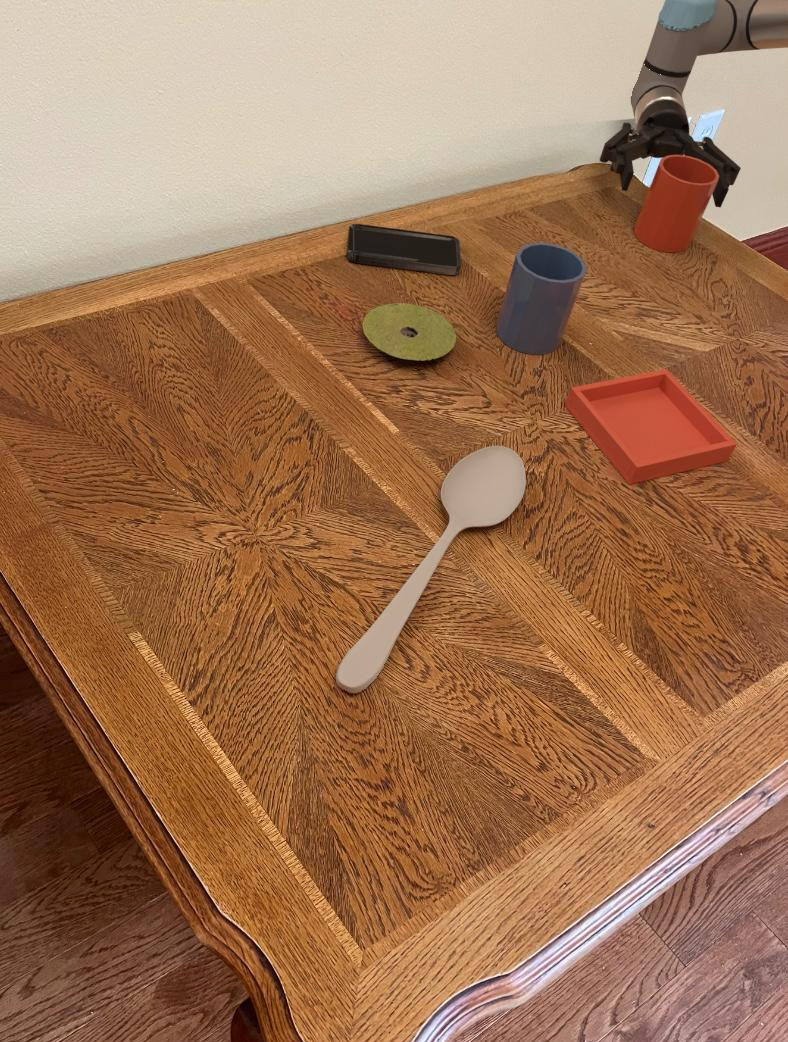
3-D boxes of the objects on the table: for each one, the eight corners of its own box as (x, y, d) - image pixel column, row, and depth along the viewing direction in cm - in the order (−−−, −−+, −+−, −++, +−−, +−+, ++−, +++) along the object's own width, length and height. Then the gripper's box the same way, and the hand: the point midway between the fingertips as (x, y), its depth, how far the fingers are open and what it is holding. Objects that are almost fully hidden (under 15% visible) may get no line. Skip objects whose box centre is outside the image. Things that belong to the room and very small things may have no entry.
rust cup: (700, 249, 135) (731, 181, 127) (654, 255, 132) (682, 187, 125) (667, 219, 140) (695, 152, 132) (622, 225, 137) (648, 157, 129)
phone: (349, 222, 126) (459, 236, 127) (348, 230, 127) (457, 244, 128) (347, 254, 121) (461, 269, 122) (346, 262, 122) (459, 276, 123)
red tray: (727, 461, 106) (737, 444, 104) (628, 485, 101) (637, 467, 99) (658, 386, 113) (666, 368, 111) (564, 405, 109) (570, 387, 107)
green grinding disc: (358, 312, 116) (360, 298, 114) (447, 319, 117) (450, 305, 115) (363, 369, 109) (365, 355, 107) (458, 376, 110) (461, 362, 108)
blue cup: (572, 349, 116) (599, 277, 108) (516, 359, 113) (539, 286, 106) (539, 310, 120) (562, 239, 113) (484, 319, 118) (504, 246, 110)
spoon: (471, 450, 102) (476, 432, 100) (538, 479, 100) (544, 461, 98) (303, 680, 82) (304, 663, 80) (381, 722, 80) (385, 706, 78)
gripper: (729, 161, 150) (749, 229, 136) (575, 134, 150) (580, 199, 136) (750, 113, 144) (773, 179, 130) (590, 84, 144) (597, 148, 130)
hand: (675, 190), depth 133 cm, fingers open, 13 cm apart
